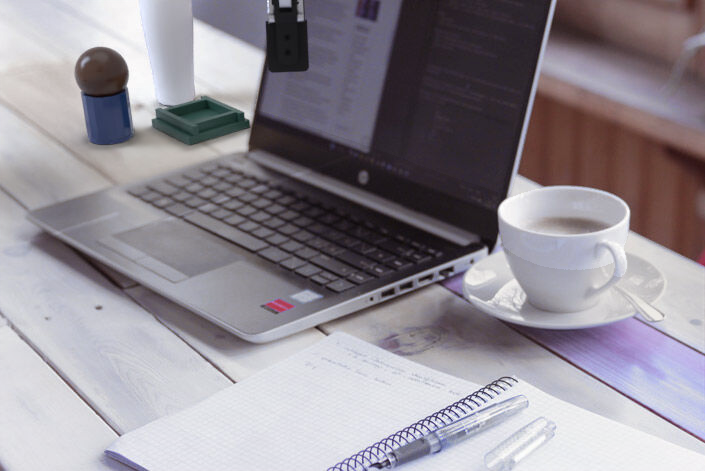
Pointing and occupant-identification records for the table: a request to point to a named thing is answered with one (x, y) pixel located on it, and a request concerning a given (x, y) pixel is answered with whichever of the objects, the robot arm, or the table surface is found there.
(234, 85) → the table surface
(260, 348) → the table surface
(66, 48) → the table surface
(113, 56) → the ball
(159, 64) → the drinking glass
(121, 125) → the cup
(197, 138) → the tray
